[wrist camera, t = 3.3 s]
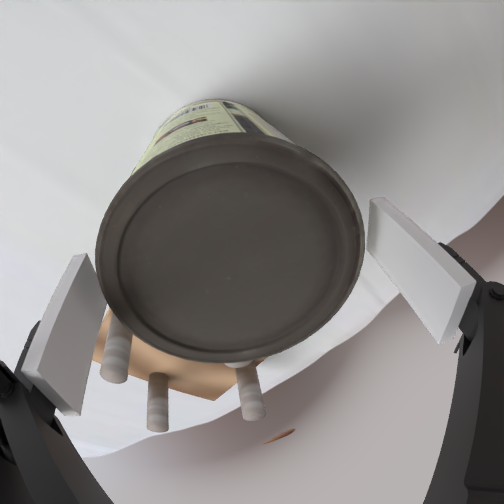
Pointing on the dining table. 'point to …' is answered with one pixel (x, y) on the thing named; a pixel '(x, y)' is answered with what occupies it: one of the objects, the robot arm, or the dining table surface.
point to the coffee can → (228, 239)
